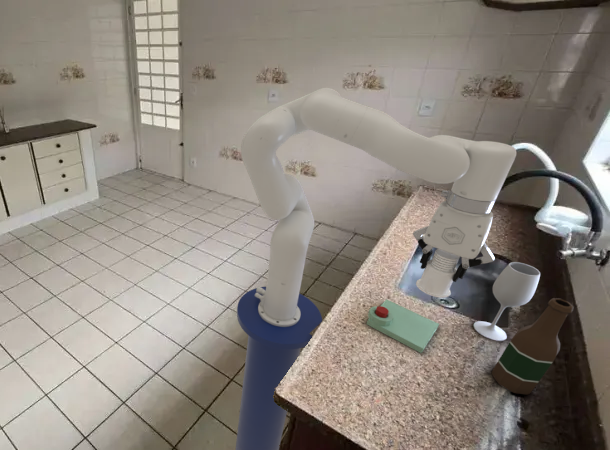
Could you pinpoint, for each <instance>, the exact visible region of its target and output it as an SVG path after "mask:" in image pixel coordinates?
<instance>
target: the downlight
mask: <svg viewBox="0 0 610 450" xmlns="http://www.w3.org/2000/svg"><path fill="white" fill-rule="evenodd" d="M435 249H436V250H435V251H434V252H433V255H432V257H431V259H430V260H429V261H428V262H427V265H426V267H425V268H424V269H423V273H422V275H421V277H420V278H419V279H417V280H416V282H415V286H416V287H417V289H419V290H420V291H421V292H423V293H425V295H428V296H431V297H434V298H439V299H441V298H442V299H444V298H449V297H450V296H451V294H452V292H451V291H452V290H451V287H452V284H453V282H454V281H453V277H454V275H455V273H456V271H457V269H458V267H457V266H458V263H459V261H460V258H461V257H460V256H457V255H454V254H451V253H448V252H446V251H443V250H440V249H437V248H435Z"/></svg>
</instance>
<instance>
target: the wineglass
mask: <svg viewBox="0 0 610 450" xmlns="http://www.w3.org/2000/svg"><path fill="white" fill-rule="evenodd" d="M540 277H541V272H540V271H539V269H537V268H536V267H534V266H532V265H530V264H527V263H523V262H519V261H512V262H510V263H508V264H507V265H506V266H505V267H504V269H503V270H502V271H501V272H500V274H499V275H498V276H497V277H496V279H495V280H494V282H493V285H492V294H493V296H494V298H495V299H496V301H497V302H498V303H499V304H500V308H499V310H498V312H497V314H496V315H495V317H494V319H493V320H492V322H487V321H481V320H477V321H475V322H474V323H473V328H474V330H475V331H476V332H477V333H478V334H480V335H481V336H482V337H484V338H487V339H488V340H491V341H495V342H503V341H506V340H507V338H508V335H507V333H506V332H505V330H504V329H502V328H501V327H499V326H498V325H496V324H497V323H498V321H499V319H500V317H501V315H502V314H503V312H504V310H505V309H506V308H510V307H511V308H513V307H520V306H524V305H526V304H527V303H529V302H530V301H531V299H532V298H533V296H534V295H535V293H536V290H537V288H538V286H539V285H538V284H539V281H540Z"/></svg>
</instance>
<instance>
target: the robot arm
mask: <svg viewBox="0 0 610 450" xmlns="http://www.w3.org/2000/svg"><path fill="white" fill-rule="evenodd" d="M310 130H311V131H312V132H315V133H317V134H321V135H323V136H326V137H327V138H331V139H334V140H336V141H339V142H341V143H344V144H347V145H350V146H351V147H354V148H357V149H359V150H362V151H363V152H365V153H367V154H368V155H370V156H371V157H374V158H376V159H377V160H379V161H381V162H383V163H384V164H386V165H389V166H390V167H391V168H394V169H396V170H399V171H400V172H402V173H406V174H407V175H411V176H413V177H415V178H418V179H420V180H423V181H425V182H429V183H433V184H439V185H446V184H452V183H453V184H452V187H451V189H449V190H446V189H443V190H442V191H441V193H440V196H441V197H444V199H445V200H444V201H442V202H440V203H439V206H438V207H437V209H436V210H435V212H434V214H433V216H432V217H431V220H430V222H429V223H428V225H427V226H424V227H421V228H419V229H416V230H414V232H412V235H413V237H414V238H415V240H416V241H417V244H418V245H419V247H420V249H421V252H422V254H421V257H420V260H419V263H420V267H419V268H420V269H422V270H425V267H426V265H427V262H428V261H429V260H432V257H433V255H434V251H433V248H435V249H440V250H443V251H446V252H448V253H451V254H454V255H457V256H460V258H461V263H460V264H459V265H458V266H457V271H456V273H455V275H454V277H453V282H454V283H457V281H458V280H459V279H461V280H463V278H465V275H466V273H467V271H468V269H469V268H472V267H477V266H480V265H484V264H488V263H493V262H494V261H495V256H494V253H492V251H491V249H490V247H489V246H488V244H487V242H486V241H487V238H488V236H489V233H490V230H491V227H492V223H493V218H494V213H493V212H492V209H493V207H494V205H495V202H496V200H497V199H498V196H499V194H500V193H501V192H500V191H501V190H502V187H503V186H504V183H505V181H506V179H507V177H508V175H509V172H510V170H511V168H512V166H513V165H514V162H515V159H516V157H517V149H516V148H515V147H514V146H512V145H510V144H507V143H503V142H499V141H491V140H479V141H477V140H473V139H472V140H471V139H466V138H462V137H457V136H453V135H448V134H438V135H437V134H436V135H433V136H430V137H427V136H425V135H423V134H420V133H418V132H416V131H414V130H411V129H410V128H408V127H406V126H405V125H403V124H401V123H400V122H398V121H397V120H396V119H395V118H394V117H393V116H392V115H390V114H388V113H386V111H382V110H381V109H378V108H375V107H371V106H368V105H365V104H363V103H360V102H357V101H354V100H351V99H349V98H346V97H343V96H342V95H341V93H340V92H338V90H336V89H334V88H331V87H321V88H318V89H316V90H314V91H311V92H310V93H308V94H306V95H303V96H301V97H299V98H296V99H294V100H291V101H289V102H286V103H284V104H281V105H280V106H277V107H275V108H273V109H271V110H270V111H268V112H266V113H264V114H263V115H261V116H260V117H259V118H257V119H256V120H255V121H254V122H253V123H252V124H251V125H250V127H249V128H248V129H247V130H246V132H245V134H244V136H243V138H242V140H241V145H240V155H241V159H242V162H243V165H244V167H245V170H246V171H247V174H248V177H249V180H250V183H251V185H252V187H253V190H254V192H255V195H256V197H257V200H258V203H259V205H260V208H261V210H262V212H263V214H265V215H266V217H267V218H269V219H271V220H274V221H278V222H277V224H276V226H275V228H274V230H273V231H272V234H271V237H270V241H269V242H270V244H269V248H270V249H269V260H268V261H269V262H268V271H267V278H266V286H265V287H266V291H265V290H264V289H263V288H261V287H262V286H257V287H256V288H257V289H256V292H258V293H256V294H255V297H257V298H259V299H260V300H261V302H260V303H259V306H258V312H259V315H260V316H261V318H262V319H263V320H265V321H266V322H268V323H270V324H272V325H275V326H279V327H289V326H292V325H295V324H296V323H297V322H298V321H299V319H300V315H301V313H300V309H299V308H298V306H297V302H298V297H299V293H300V291H301V286H302V281H303V277H304V269H305V264H306V260H307V259H306V258H307V253H308V248H309V245H310V242H311V239H312V236H313V232H314V228H315V216H314V214H313V211H312V209H311V206H310V203H309V201H308V197H307V195H306V192H305V190H304V187H303V185H302V184H301V181H299V179H298V178H297V177H296V176H294V175H292V174H290V173H285V171H284V168H283V165H282V163H281V161H280V159H279V158H278V156H277V151H278V149H279V148H280V147H281V146H282V145H284V144H285V143H286V142H287V141H288V140H289V139H290V138H292V137H294V136H296V135H300V134H302V133H305V132H307V131H310ZM479 254H481V255H482V256H479ZM260 294H262V295H263V296H262V295H260Z"/></svg>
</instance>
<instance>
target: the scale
mask: <svg viewBox="0 0 610 450" xmlns="http://www.w3.org/2000/svg"><path fill="white" fill-rule="evenodd" d="M380 306H382V307H385V308H387V309H388V311H389V312H388V315H387V317H386V318H381V317H378V316H377V315H376V314H375V311H376V308H377V307H378V306H377V305H375V306H371V307H370V308H369V309H368V313H367V317H368V319H367V321H366V325H367V326H368V327H371V328H373V329H374V330H377V331H378V332H380V333H382V334H383V335H386V336H387V337H390V338H392V339H394V340H395V341H397V342H399V343H401V344H402V345H404V346H406V347H408V348H411V349H412V350H414V351H416V352H418V353H419V354H422V353H423V352H424V350H425V349H426V347H427V345H428V344H429V342H430V341H431V339H432V338H433V336H434V334H435V333H436V331H437V330H438V328H439V326H440V323H439V322H436V321H434V320H432V319H429V318H427V317H426V316H423V315H422V314H419V313H417V312H415V311H413V310H411V309H409V308H407V307H404V306H402V305H399V304H398V303H395V302H393V301H392V300H389V299H387V298H386V299H385V300H384V301H383V303H381V305H380Z"/></svg>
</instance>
